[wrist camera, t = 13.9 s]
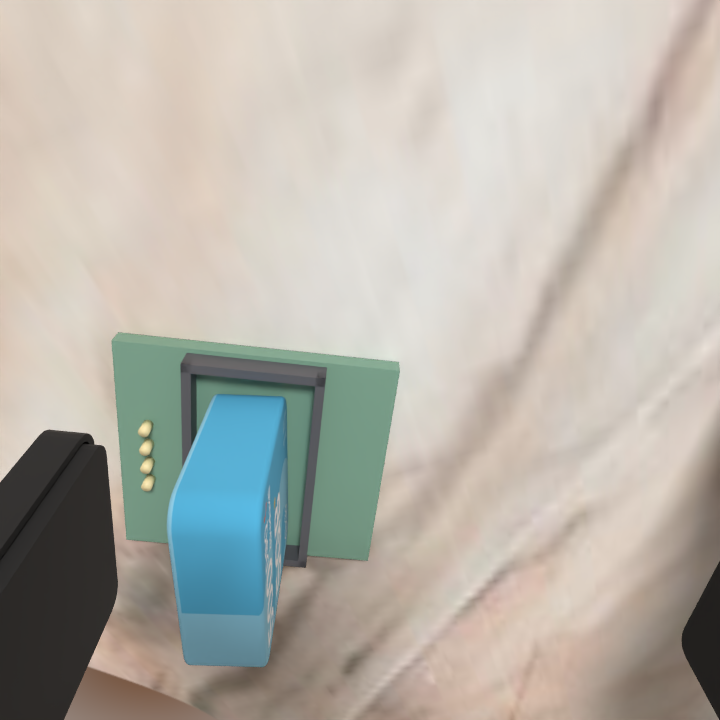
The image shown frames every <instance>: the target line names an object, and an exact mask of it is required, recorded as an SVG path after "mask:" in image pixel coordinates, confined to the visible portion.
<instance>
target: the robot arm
mask: <svg viewBox="0 0 720 720" xmlns="http://www.w3.org/2000/svg"><path fill="white" fill-rule="evenodd" d="M117 588H118V579H117V568H116V557H115V545H114V534H113V522H112V511H111V500H110V488H109V477H108V465H107V454H106V450H105V448H104V446H102V445H94V440H93V438H92V436H91V435H90V434H87V433H77V432H66V431H56V430H46V431H44V432H43V433H41V434H40V435H39V437H38V438H37V439H36V440H35V441H34V443H33V444H32V445H31V446H30V447H29V449H28V450H27V451H26V452H25V453H24V455H23V456H22V457H21V458H20V459H19V461H18V462H17V463H16V464H15V465H14V467H13V468H12V469H11V470H10V471H9V473H8V474H7V475H6V476H5V477H4V479H3V480H2V481H1V482H0V720H64V718H65V716H66V713H67V711H68V709H69V707H70V704H71V702H72V700H73V698H74V695H75V693H76V691H77V689H78V687H79V684H80V682H81V680H82V678H83V675H84V673H85V671H86V668H87V666H88V664H89V662H90V659H91V657H92V655H93V653H94V650H95V648H96V646H97V644H98V641H99V639H100V637H101V635H102V632H103V630H104V628H105V626H106V623H107V621H108V619H109V616H110V614H111V612H112V609H113V607H114V604H115V600H116V595H117ZM682 647H683V651H684V654H685V656H686V659H687V660H688V662H689V664H690V666H691V668H692V670H693V672H694V674H695V675H696V677H697V679H698V681H699V683H700V685H701V687H702V688H703V690H704V692H705V694H706V696H707V698H708V700H709V701H710V703H711V705H712V707H713V709H714V711H715V713H716V714H717V716H718V718H719V720H720V561H719V563H718V565H717V567H716V569H715V571H714V573H713V575H712V577H711V579H710V580H709V582H708V584H707V586H706V588H705V590H704V592H703V594H702V596H701V597H700V599H699V601H698V603H697V605H696V607H695V609H694V611H693V613H692V615H691V616H690V618H689V620H688V622H687V624H686V626H685V628H684V630H683V633H682Z"/></svg>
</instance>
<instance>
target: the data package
mask: <svg viewBox="0 0 720 720" xmlns="http://www.w3.org/2000/svg"><path fill="white" fill-rule="evenodd" d="M287 532H288V457H287V404H286V399H285V398H284V397H282V396H260V395H233V394H216V395H214V396H213V398H212V400H211V402H210V404H209V407H208V409H207V411H206V414H205V416H204V418H203V421H202V423H201V425H200V428H199V430H198V433H197V435H196V437H195V440H194V442H193V444H192V447H191V449H190V451H189V454H188V456H187V458H186V461H185V463H184V465H183V468H182V470H181V473H180V475H179V477H178V480H177V482H176V484H175V487H174V489H173V492H172V494H171V498H170V502H169V507H168V514H167V536H168V544H169V551H170V559H171V566H172V574H173V581H174V589H175V596H176V604H177V611H178V619H179V626H180V634H181V641H182V649H183V656H184V660H185V662H186V663H187V664H188V665H206V666H242V667H264V666H266V665H267V663H268V660H269V656H270V649H271V643H272V636H273V629H274V623H275V616H276V609H277V602H278V596H279V589H280V582H281V576H282V569H283V562H284V555H285V549H286V542H287Z"/></svg>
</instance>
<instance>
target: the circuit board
mask: <svg viewBox="0 0 720 720" xmlns="http://www.w3.org/2000/svg"><path fill="white" fill-rule="evenodd" d="M112 352H113V366H114V379H115V392H116V406H117V419H118V432H119V445H120V459H121V472H122V485H123V499H124V512H125V525H126V539H127V540H138V541H149V542H161V543H168V536H167V514H168V507H169V502H170V498H171V494H172V492H173V489H174V487H175V484H176V482H177V480H178V477H179V475H180V473H181V470H182V468H183V465H184V463H185V461H186V458H187V456H188V454H189V451H190V449H191V447H192V444H193V442H194V440H195V437H196V435H197V433H198V430H199V428H200V425H201V423H202V421H203V418H204V416H205V414H206V411H207V409H208V407H209V404H210V402H211V400H212V398H213V396H214V395H216V394H233V395H260V396H282V397H284V398H285V399H286V404H287V457H288V532H287V542H286V549H285V555H284V562H283V566H293V567H304V568H306V561H307V555H309V556H320V557H332V558H343V559H354V560H366V561H368V556H369V550H370V544H371V538H372V532H373V527H374V521H375V515H376V509H377V503H378V497H379V491H380V485H381V479H382V473H383V467H384V461H385V455H386V450H387V444H388V438H389V432H390V426H391V420H392V414H393V408H394V402H395V396H396V390H397V384H398V378H399V373H400V369H399V362H392V361H383V360H374V359H364V358H355V357H345V356H336V355H326V354H317V353H308V352H298V351H289V350H279V349H270V348H260V347H251V346H241V345H232V344H223V343H213V342H204V341H194V340H185V339H175V338H166V337H156V336H147V335H138V334H128V333H119V332H118V334H117V335H116V336H115V337H114V338H113V339H112Z"/></svg>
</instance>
